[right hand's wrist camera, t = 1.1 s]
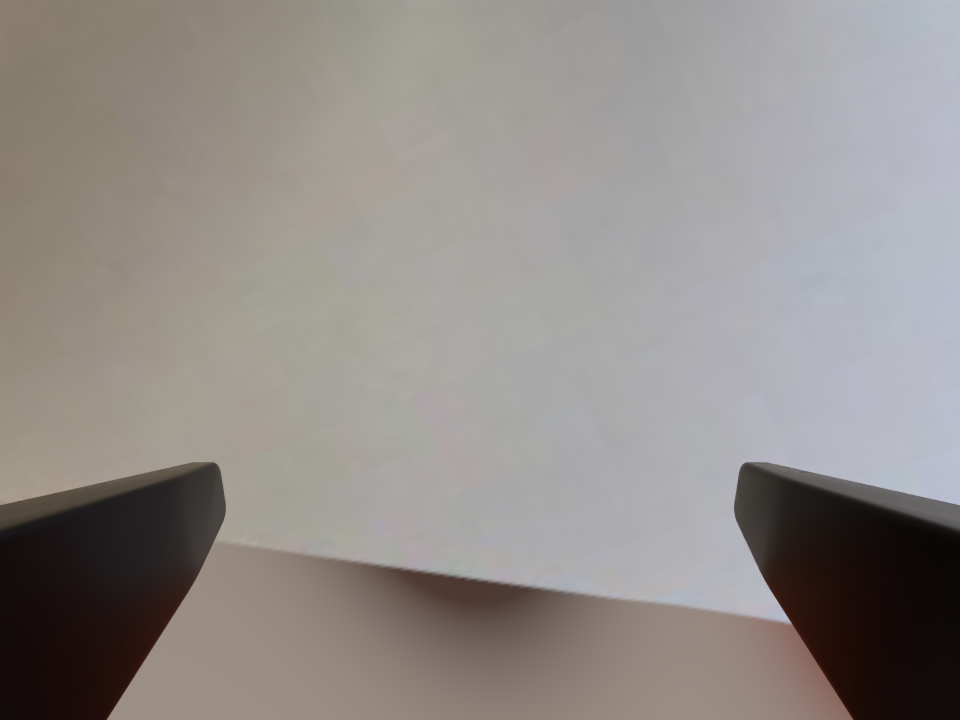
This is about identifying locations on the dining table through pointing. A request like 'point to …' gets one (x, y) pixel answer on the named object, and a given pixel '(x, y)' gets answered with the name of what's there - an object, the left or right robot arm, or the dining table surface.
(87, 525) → the right robot arm
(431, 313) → the dining table surface
